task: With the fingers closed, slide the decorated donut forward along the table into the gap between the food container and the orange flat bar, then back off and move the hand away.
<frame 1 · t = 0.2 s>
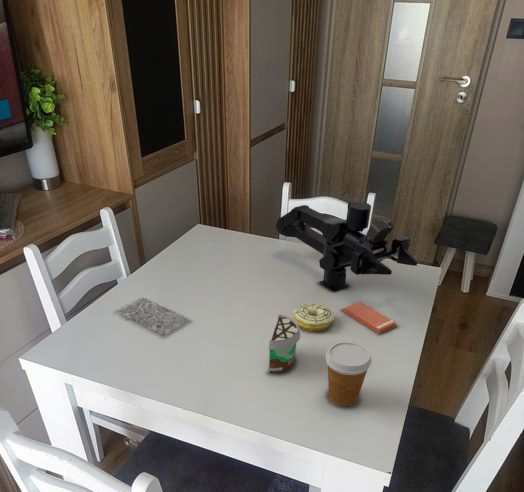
hand: (404, 268, 123), 17 cm above the table, tool horizontal, fingers open, 9 cm apart
disposable coffee cup: (342, 397, 107), on the table
rug: (152, 317, 133), on the table
decorated donut: (313, 323, 132), on the table
orange flat bar: (368, 318, 133), on the table
food container: (285, 363, 117), on the table
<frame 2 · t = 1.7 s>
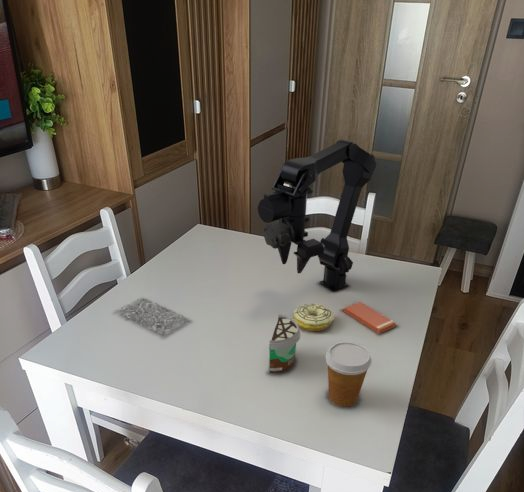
hand: (291, 268, 132), 12 cm above the table, tool pointing down, fingers open, 6 cm apart
nothing on the table moved.
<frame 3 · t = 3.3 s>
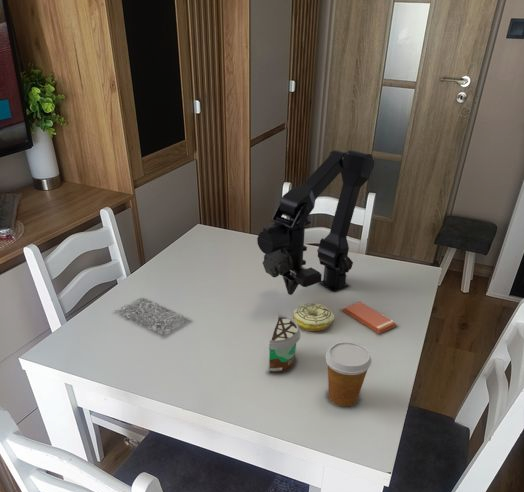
hand: (290, 294, 136), 4 cm above the table, tool pointing down, fingers closed
nothing on the table moved.
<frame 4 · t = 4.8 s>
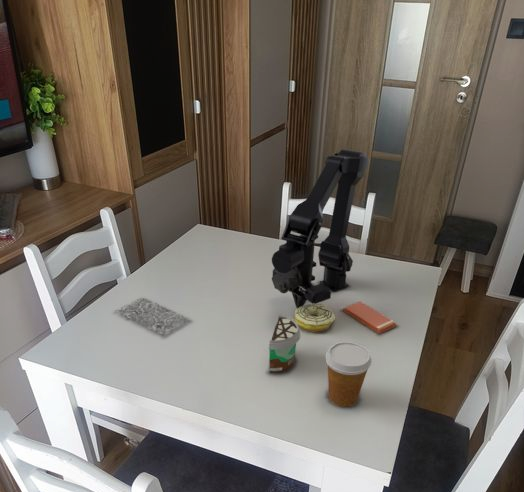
hand: (299, 309, 135), 1 cm above the table, tool pointing down, fingers closed
decorated donut: (313, 323, 131), on the table, touching gripper
everything else where it was.
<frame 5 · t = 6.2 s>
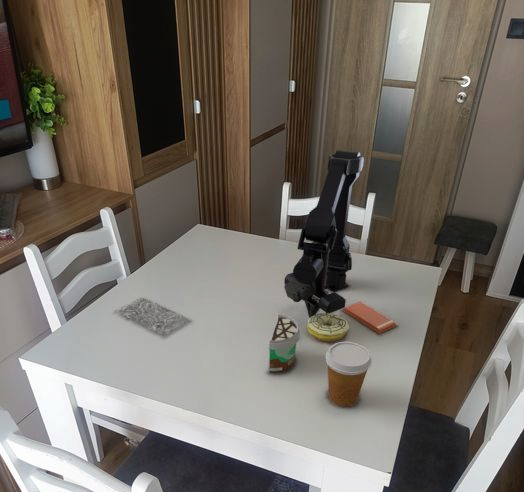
hand: (311, 318, 131), 1 cm above the table, tool pointing down, fingers closed
decorated donut: (327, 333, 128), on the table, touching gripper
everything else where it was.
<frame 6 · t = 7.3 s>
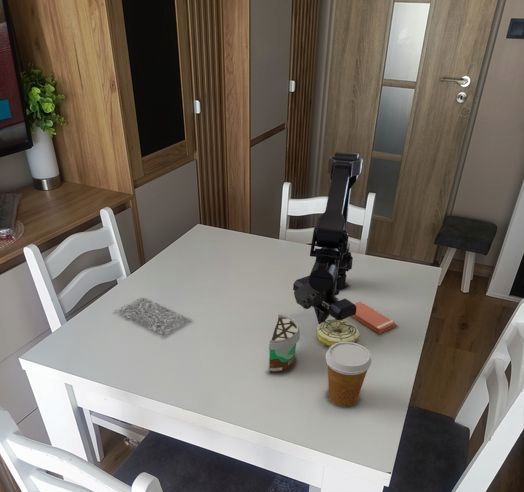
hand: (320, 324, 129), 1 cm above the table, tool pointing down, fingers closed
decorated donut: (336, 340, 125), on the table, touching gripper
everything else where it was.
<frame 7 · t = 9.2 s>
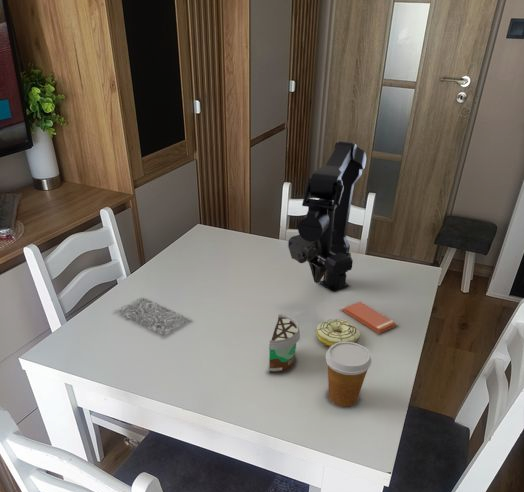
hand: (316, 282, 127), 11 cm above the table, tool pointing down, fingers closed
decorated donut: (337, 340, 125), on the table
everything else where it was.
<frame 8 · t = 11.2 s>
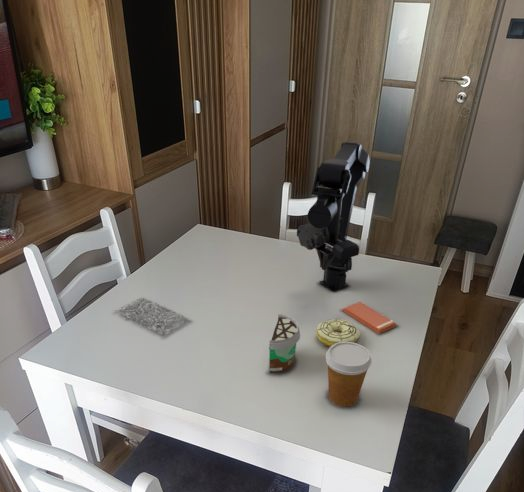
hand: (324, 269, 131), 12 cm above the table, tool pointing down, fingers closed
nothing on the table moved.
at the end: decorated donut inside the target area (0.5 cm from its centre), on the table; decorated donut tilted 0°; food container moved 0.2 cm from its start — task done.
